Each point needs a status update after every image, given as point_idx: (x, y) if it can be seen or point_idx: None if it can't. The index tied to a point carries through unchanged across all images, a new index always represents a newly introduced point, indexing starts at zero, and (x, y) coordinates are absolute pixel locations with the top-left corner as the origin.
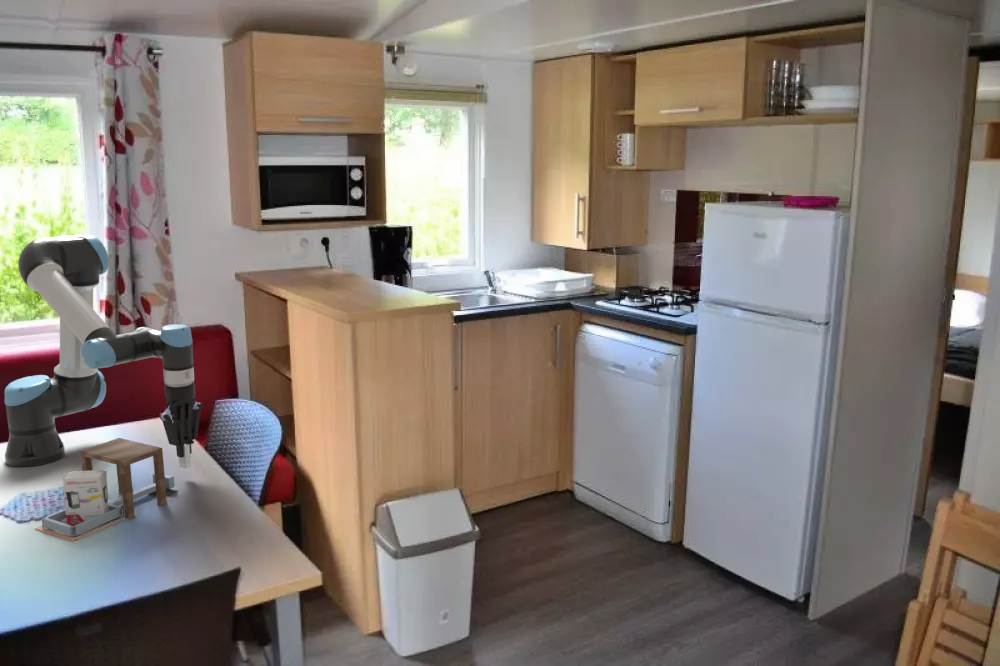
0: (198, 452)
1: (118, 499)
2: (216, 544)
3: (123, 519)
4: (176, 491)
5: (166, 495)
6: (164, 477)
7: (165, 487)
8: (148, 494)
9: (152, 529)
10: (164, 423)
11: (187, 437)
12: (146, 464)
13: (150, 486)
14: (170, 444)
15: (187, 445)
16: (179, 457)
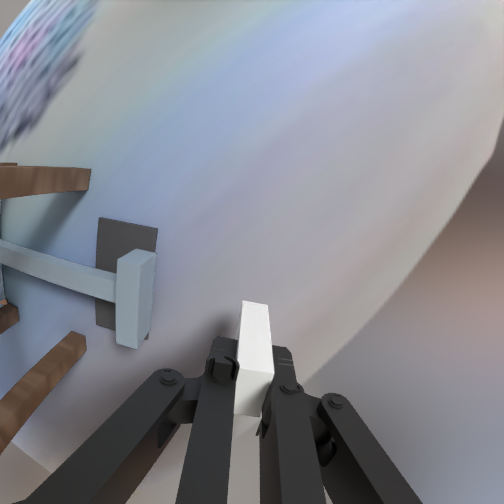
0: (471, 180)
1: (6, 258)
2: (61, 460)
3: (4, 304)
4: (144, 338)
5: (110, 328)
6: (48, 392)
7: (63, 375)
8: (97, 266)
9: (20, 376)
10: (45, 495)
11: (261, 441)
12: (335, 59)
13: (85, 285)
14: (162, 372)
15: (245, 413)
16: (239, 327)
